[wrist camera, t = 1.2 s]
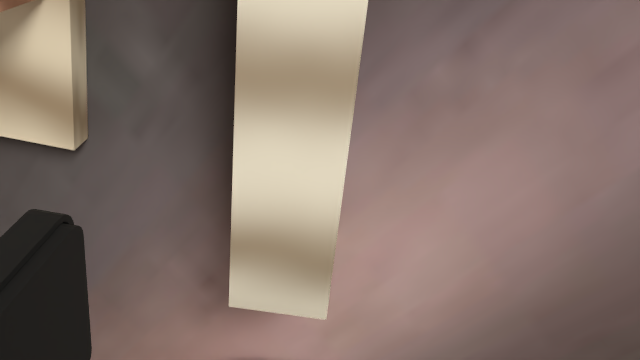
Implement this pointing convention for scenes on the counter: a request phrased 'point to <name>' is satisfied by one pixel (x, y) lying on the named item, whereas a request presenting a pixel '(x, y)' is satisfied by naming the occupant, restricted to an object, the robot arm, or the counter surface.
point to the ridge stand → (43, 72)
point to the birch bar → (291, 149)
